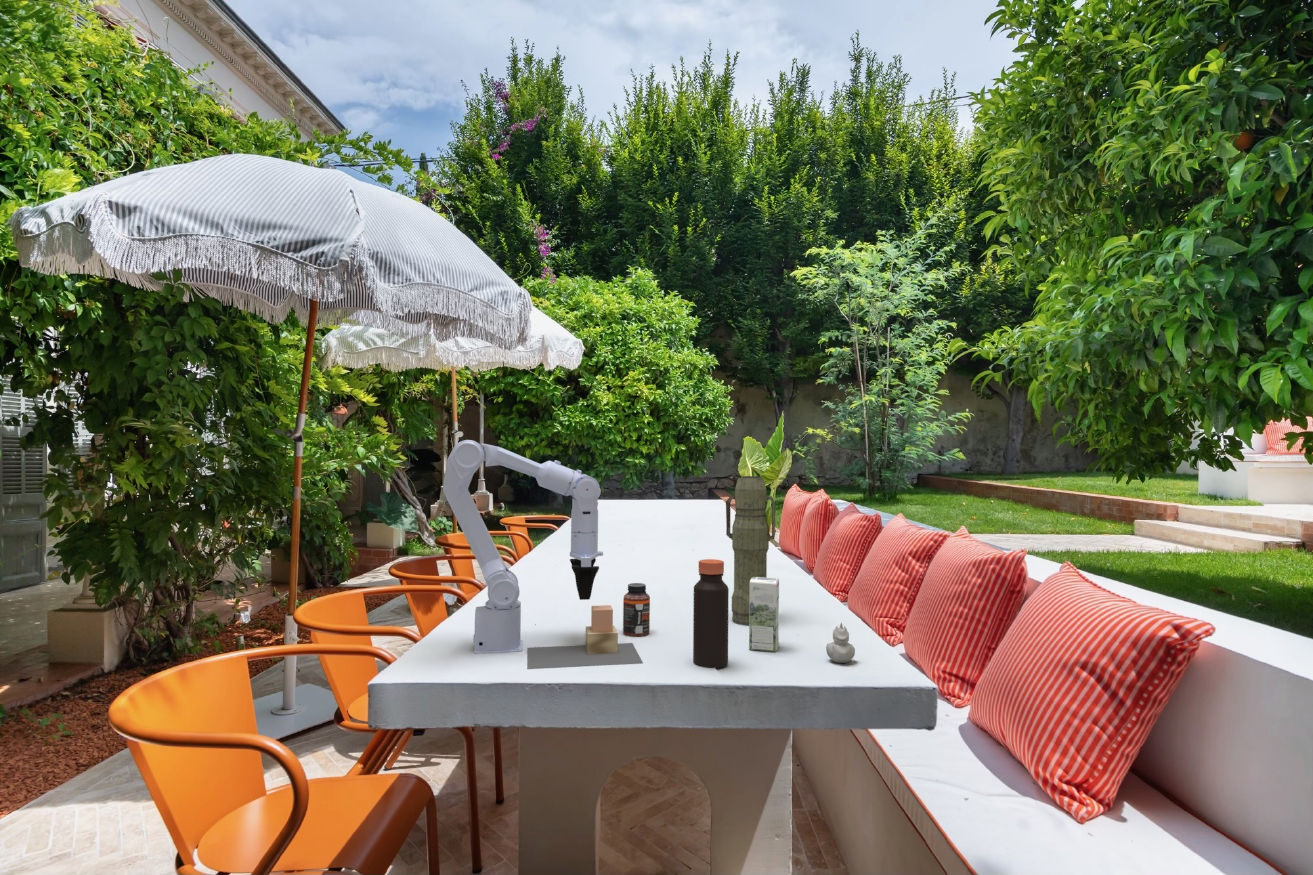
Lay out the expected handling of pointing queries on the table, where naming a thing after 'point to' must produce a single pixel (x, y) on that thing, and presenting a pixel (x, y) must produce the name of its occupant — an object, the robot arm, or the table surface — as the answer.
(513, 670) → the table surface
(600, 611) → the terracotta block
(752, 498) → the thermos
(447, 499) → the robot arm
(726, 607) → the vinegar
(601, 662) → the mat
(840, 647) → the rubber duck
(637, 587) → the supplement bottle
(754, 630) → the syrup box
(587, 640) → the oak block
